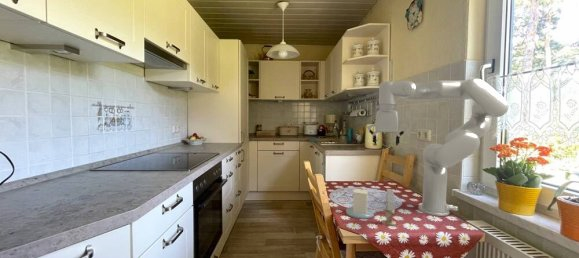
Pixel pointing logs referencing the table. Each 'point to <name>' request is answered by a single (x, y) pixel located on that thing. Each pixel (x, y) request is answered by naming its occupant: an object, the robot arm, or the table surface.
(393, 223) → the clamp frame
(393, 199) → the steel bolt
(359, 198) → the cream block
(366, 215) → the ceramic plate
